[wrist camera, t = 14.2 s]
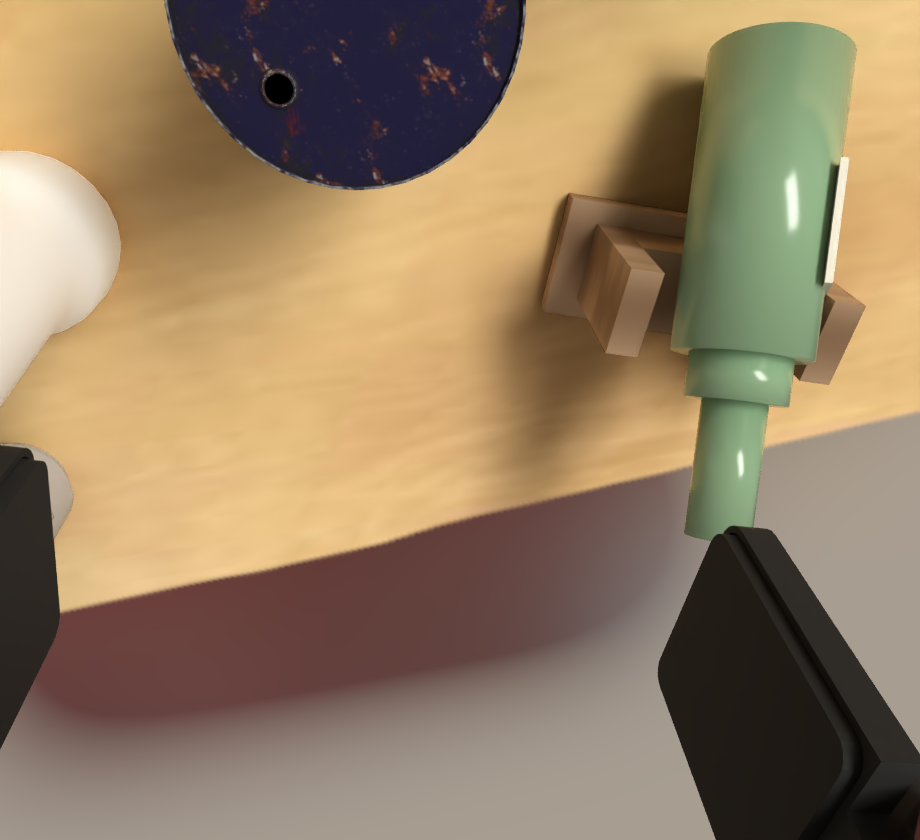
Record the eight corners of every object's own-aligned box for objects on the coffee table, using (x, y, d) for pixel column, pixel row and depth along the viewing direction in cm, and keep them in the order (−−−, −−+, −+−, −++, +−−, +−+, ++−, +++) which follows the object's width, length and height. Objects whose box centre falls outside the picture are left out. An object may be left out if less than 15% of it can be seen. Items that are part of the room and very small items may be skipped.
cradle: (569, 193, 39) (603, 239, 33) (826, 237, 41) (906, 290, 35) (541, 305, 42) (567, 368, 36) (782, 341, 44) (848, 407, 38)
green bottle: (704, 25, 32) (639, 533, 33) (869, 18, 30) (798, 560, 31) (709, 87, 38) (654, 520, 38) (849, 84, 36) (789, 542, 36)
